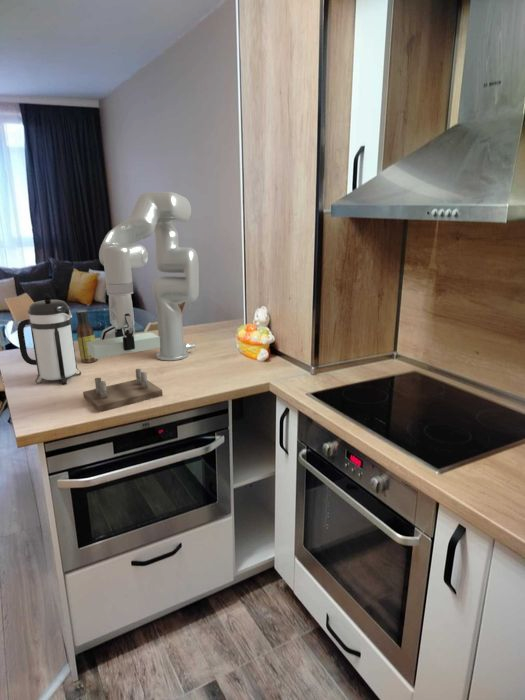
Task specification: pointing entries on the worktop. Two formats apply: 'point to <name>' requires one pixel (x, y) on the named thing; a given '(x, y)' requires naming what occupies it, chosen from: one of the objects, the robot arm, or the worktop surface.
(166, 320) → the robot arm
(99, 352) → the shelf board
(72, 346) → the coffee press
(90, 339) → the sauce bottle
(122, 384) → the peg stand
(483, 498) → the worktop surface
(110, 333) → the napkin holder
